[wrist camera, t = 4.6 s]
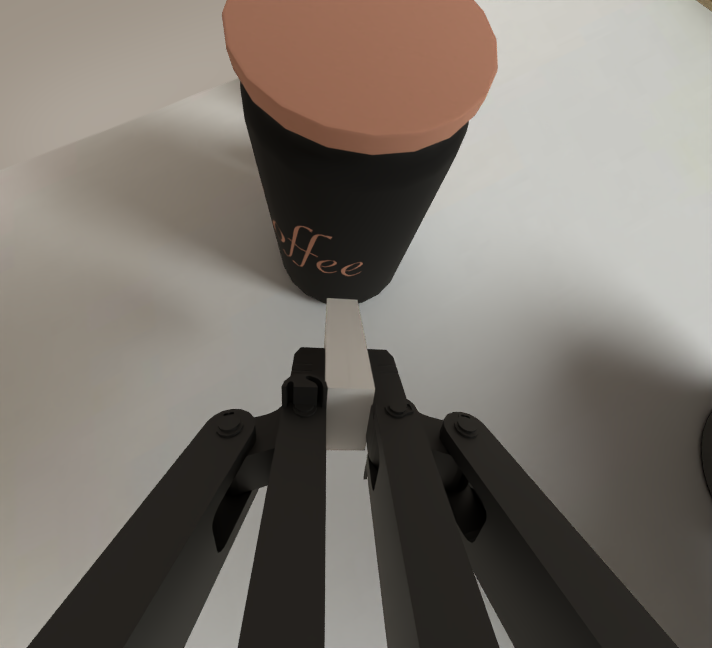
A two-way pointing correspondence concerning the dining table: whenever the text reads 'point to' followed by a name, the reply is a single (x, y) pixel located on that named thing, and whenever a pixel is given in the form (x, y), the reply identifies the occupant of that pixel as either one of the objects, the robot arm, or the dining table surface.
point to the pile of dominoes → (706, 3)
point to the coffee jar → (355, 124)
